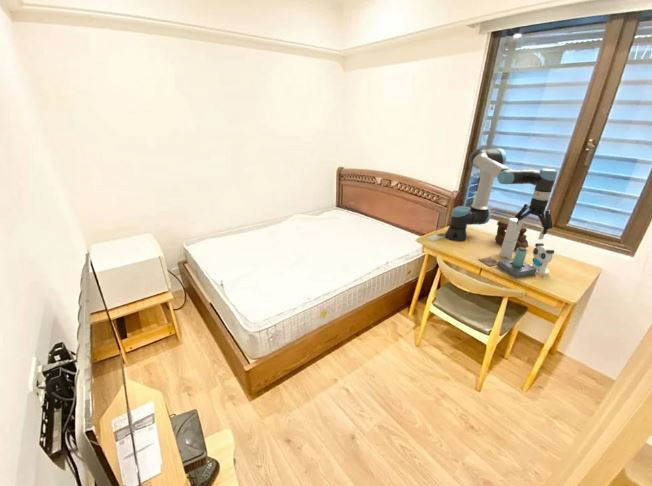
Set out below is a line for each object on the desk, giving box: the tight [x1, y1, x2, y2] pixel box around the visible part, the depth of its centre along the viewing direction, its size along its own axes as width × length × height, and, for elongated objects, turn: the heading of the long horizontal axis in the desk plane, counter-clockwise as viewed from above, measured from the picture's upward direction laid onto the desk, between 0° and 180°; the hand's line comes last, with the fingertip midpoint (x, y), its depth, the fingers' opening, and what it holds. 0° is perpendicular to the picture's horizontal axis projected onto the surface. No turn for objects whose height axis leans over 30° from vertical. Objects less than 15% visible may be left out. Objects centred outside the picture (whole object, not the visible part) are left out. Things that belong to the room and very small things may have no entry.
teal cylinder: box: [512, 247, 528, 268], centre depth 173 cm, size 5×5×15 cm
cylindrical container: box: [499, 217, 520, 259], centre depth 190 cm, size 7×7×25 cm
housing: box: [496, 258, 537, 279], centre depth 176 cm, size 14×14×4 cm
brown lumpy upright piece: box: [494, 218, 529, 252], centre depth 205 cm, size 20×11×17 cm, turn 33°
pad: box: [478, 257, 498, 267], centre depth 186 cm, size 9×9×1 cm
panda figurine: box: [528, 242, 555, 275], centre depth 175 cm, size 12×11×15 cm
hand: (528, 234), depth 167 cm, fingers open, 13 cm apart
